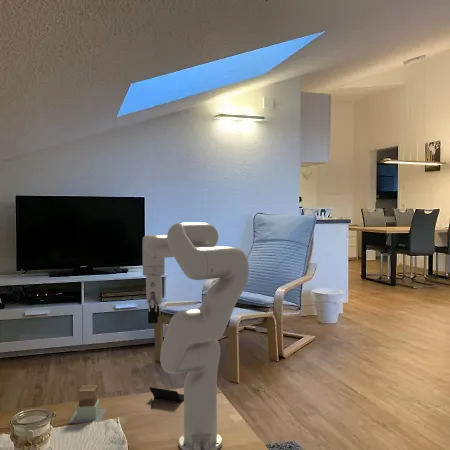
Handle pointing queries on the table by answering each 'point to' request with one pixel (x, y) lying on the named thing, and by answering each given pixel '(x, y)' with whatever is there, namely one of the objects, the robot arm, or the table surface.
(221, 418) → the table surface
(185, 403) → the robot arm
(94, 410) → the sage base block
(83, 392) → the walnut cube
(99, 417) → the board
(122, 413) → the table surface
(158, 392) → the handheld gaming console
